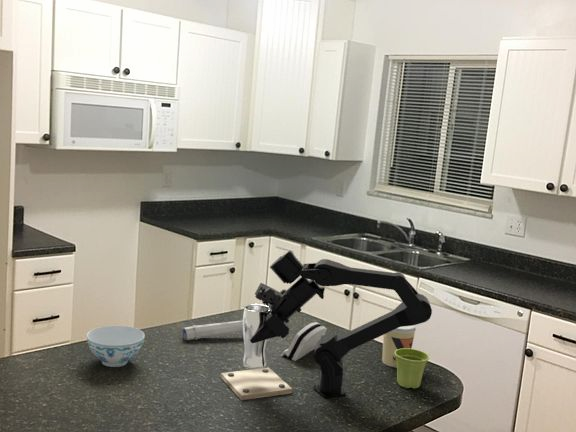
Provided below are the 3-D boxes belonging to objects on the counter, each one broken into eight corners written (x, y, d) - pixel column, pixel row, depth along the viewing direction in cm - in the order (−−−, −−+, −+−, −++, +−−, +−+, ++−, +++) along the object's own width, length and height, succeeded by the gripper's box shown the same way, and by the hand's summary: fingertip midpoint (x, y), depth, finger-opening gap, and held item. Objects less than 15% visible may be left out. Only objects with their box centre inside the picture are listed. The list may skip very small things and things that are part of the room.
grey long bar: (181, 325, 195) (258, 311, 204) (182, 345, 196) (259, 331, 205) (184, 330, 190) (263, 316, 199) (186, 351, 192) (264, 336, 200)
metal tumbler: (237, 360, 165) (239, 304, 163) (262, 358, 168) (264, 303, 166) (246, 370, 159) (248, 312, 157) (272, 367, 162) (274, 310, 160)
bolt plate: (291, 393, 162) (292, 387, 162) (241, 400, 156) (241, 394, 156) (268, 371, 175) (268, 366, 174) (220, 377, 168) (221, 372, 168)
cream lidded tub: (390, 370, 184) (395, 330, 182) (373, 358, 192) (378, 319, 190) (417, 367, 187) (422, 328, 185) (399, 355, 196) (404, 318, 194)
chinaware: (132, 348, 182) (133, 323, 181) (151, 368, 170) (153, 340, 169) (78, 355, 174) (79, 328, 173) (95, 377, 162) (96, 348, 161)
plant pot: (384, 383, 174) (388, 352, 173) (402, 374, 181) (405, 345, 180) (414, 394, 168) (418, 363, 167) (431, 385, 175) (435, 355, 174)
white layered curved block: (306, 341, 201) (318, 315, 198) (318, 349, 199) (331, 323, 196) (280, 356, 187) (293, 328, 183) (293, 365, 185) (306, 337, 182)
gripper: (272, 265, 170) (228, 304, 170) (278, 284, 152) (229, 327, 152) (299, 295, 172) (256, 333, 172) (308, 316, 154) (260, 359, 154)
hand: (250, 337), depth 163 cm, fingers closed on metal tumbler, 6 cm apart
